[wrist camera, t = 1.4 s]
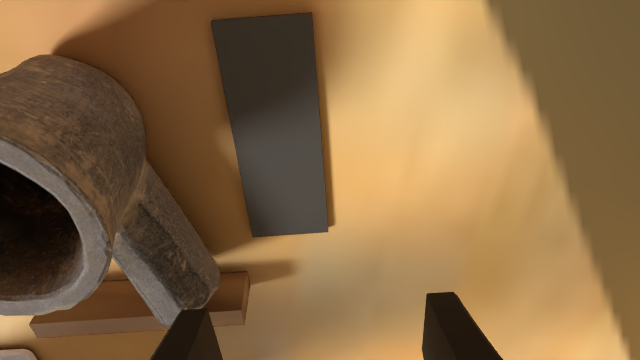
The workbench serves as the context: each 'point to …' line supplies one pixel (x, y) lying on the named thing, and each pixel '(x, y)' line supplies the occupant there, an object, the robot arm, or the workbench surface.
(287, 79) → the strip
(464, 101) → the workbench surface
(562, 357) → the workbench surface
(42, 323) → the brown wooden board
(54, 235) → the pipe
